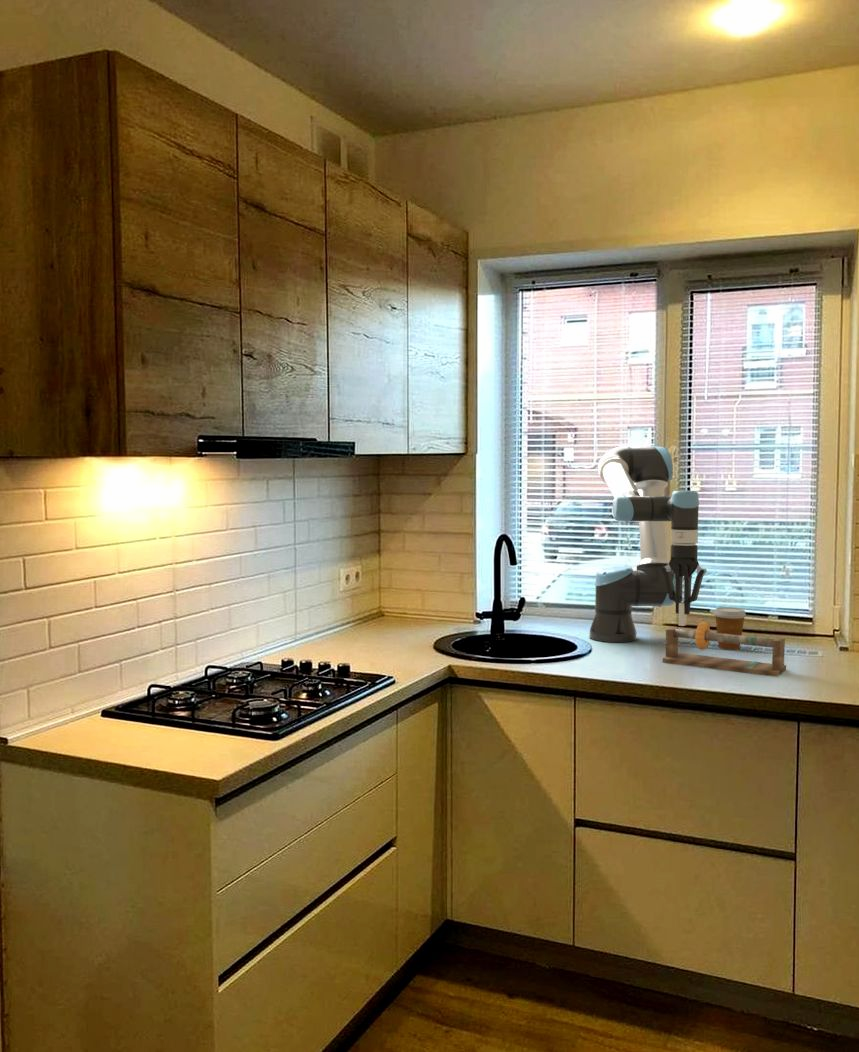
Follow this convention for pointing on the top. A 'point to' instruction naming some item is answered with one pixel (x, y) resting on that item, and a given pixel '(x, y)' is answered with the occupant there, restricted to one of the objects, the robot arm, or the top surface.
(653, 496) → the robot arm
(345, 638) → the top surface
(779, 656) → the pipe stand
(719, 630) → the disposable coffee cup
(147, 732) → the top surface
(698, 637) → the o-ring
